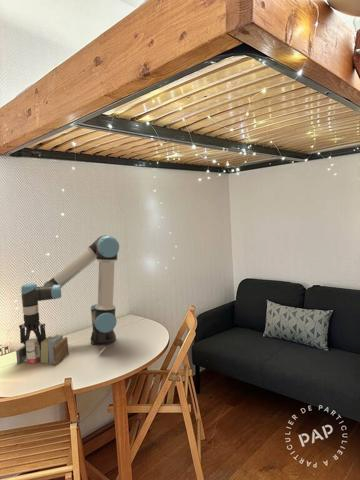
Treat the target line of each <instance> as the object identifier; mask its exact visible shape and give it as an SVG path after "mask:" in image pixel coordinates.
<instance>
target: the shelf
mask: <svg viewBox="0 0 360 480" xmlns="http://www.w3.org/2000/svg"><path fill="white" fill-rule="evenodd" d="M68 341H69V340H68V337H67V336H65V337H63V339H62V340H61V341H59V342H58V343H57V344H56V345H54V346H53V350H54V361H55V364H53V366H58V365H59V364H60V363H61V362H62V361H63V360H65V359H66V358H67V357H68V356H69V355H70V353H69V342H68Z"/></svg>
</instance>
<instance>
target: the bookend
mask: <svg viewBox="0 0 360 480" xmlns="http://www.w3.org/2000/svg"><path fill="white" fill-rule="evenodd" d="M15 352H16V353H15V354H16V364H17V365H21V364H22V363H24V362H26V361H27V354H26V350H25V345H24V344H23V346H22V347H20V348H19V349H17V350H16V351H15Z"/></svg>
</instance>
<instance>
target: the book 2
mask: <svg viewBox="0 0 360 480" xmlns="http://www.w3.org/2000/svg"><path fill="white" fill-rule="evenodd" d="M52 337H53V338H51V339H50V340H49V341H48V350H49V363H48V364H49V365H50V364H51V365H54V364H55V361H54V350H53V346H54V345H56V344H57V343H58V342H59V341H61V340H62V339H63V338H64V335H63V334H55V335H54V336H52Z"/></svg>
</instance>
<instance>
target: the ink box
mask: <svg viewBox="0 0 360 480" xmlns="http://www.w3.org/2000/svg"><path fill="white" fill-rule="evenodd" d="M38 344H39V342H38V340H37V337H36V335H35V336H32V337H31V338H29V340H27V341H26V354H27V359H26V364H28V365H29V364H32V365H33V364H37V363H38V362H40V361H41V356H40V357H39V355H38Z"/></svg>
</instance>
